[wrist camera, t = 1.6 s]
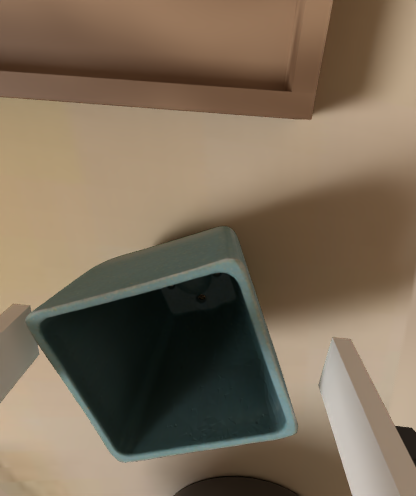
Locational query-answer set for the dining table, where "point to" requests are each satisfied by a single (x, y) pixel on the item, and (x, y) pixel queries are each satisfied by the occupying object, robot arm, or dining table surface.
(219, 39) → the holder tray
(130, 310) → the flower pot
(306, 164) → the dining table surface
